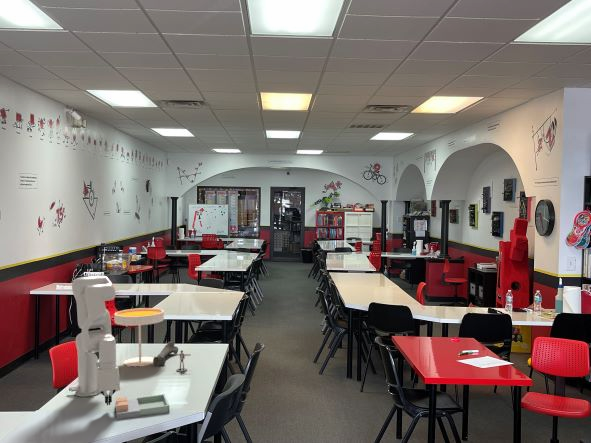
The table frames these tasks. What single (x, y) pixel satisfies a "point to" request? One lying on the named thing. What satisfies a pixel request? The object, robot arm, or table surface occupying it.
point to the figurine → (182, 361)
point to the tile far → (121, 399)
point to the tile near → (122, 406)
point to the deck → (129, 410)
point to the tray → (153, 404)
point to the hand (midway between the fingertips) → (108, 404)
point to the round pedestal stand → (139, 318)
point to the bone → (165, 353)
